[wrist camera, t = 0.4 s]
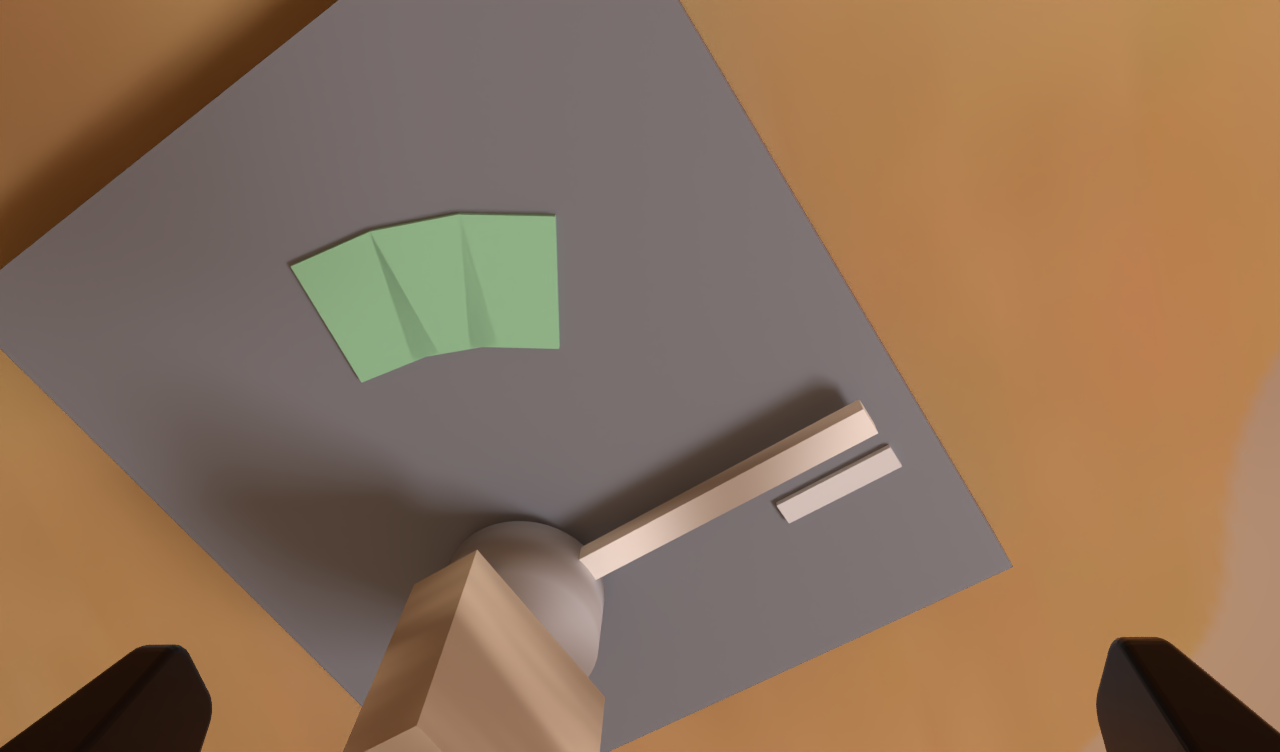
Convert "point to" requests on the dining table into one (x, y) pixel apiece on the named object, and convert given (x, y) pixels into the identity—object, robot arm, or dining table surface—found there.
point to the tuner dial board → (495, 344)
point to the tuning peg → (543, 618)
